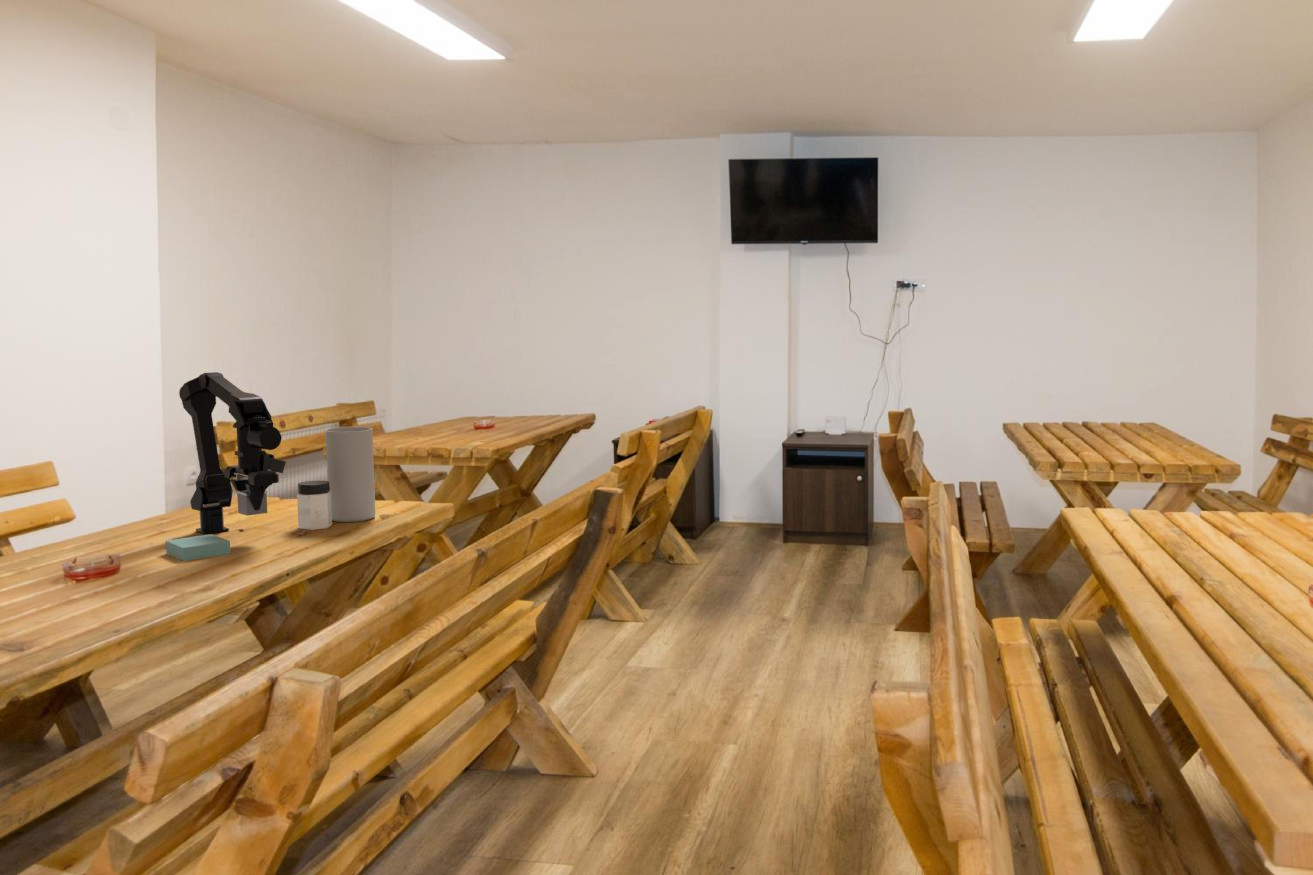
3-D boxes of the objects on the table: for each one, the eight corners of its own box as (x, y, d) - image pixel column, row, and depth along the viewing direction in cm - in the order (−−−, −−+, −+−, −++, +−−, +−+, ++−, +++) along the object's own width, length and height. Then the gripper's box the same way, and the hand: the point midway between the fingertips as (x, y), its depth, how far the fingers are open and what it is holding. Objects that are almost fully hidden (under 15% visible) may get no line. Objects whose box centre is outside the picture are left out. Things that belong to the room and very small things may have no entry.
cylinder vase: (383, 515, 310) (380, 427, 307) (361, 523, 298) (358, 432, 295) (343, 513, 313) (340, 426, 310) (320, 521, 300) (316, 431, 298)
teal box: (166, 555, 262) (165, 540, 262) (212, 547, 270) (211, 534, 269) (183, 562, 254) (182, 547, 254) (230, 555, 262) (229, 540, 262)
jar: (302, 531, 287) (301, 486, 286) (294, 526, 294) (292, 482, 293) (336, 527, 292) (335, 483, 291) (327, 522, 299) (325, 479, 298)
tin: (237, 512, 274) (236, 490, 273) (258, 510, 277) (257, 488, 277) (246, 515, 270) (245, 493, 269) (267, 512, 274) (266, 490, 273)
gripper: (297, 447, 270) (300, 509, 272) (264, 440, 284) (267, 500, 286) (253, 451, 263) (256, 515, 265) (222, 444, 276) (225, 505, 278)
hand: (252, 508), depth 273 cm, fingers closed on tin, 5 cm apart
